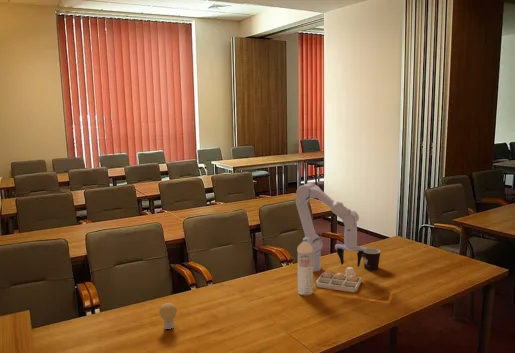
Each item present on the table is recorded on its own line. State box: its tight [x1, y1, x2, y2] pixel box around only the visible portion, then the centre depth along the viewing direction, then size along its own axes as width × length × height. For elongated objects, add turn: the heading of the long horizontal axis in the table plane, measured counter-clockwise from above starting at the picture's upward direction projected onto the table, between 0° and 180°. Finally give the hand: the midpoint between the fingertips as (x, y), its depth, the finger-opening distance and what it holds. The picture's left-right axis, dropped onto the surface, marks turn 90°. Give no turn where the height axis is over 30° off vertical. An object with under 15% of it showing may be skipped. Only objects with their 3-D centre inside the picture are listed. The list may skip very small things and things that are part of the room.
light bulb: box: [158, 302, 178, 330], centre depth 166 cm, size 6×6×10 cm
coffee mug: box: [362, 247, 382, 271], centre depth 219 cm, size 12×9×10 cm
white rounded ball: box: [345, 266, 356, 276], centre depth 209 cm, size 4×4×4 cm
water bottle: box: [296, 237, 314, 297], centre depth 192 cm, size 7×7×25 cm
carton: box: [314, 270, 362, 294], centre depth 200 cm, size 18×12×5 cm
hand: (350, 264), depth 208 cm, fingers open, 7 cm apart
